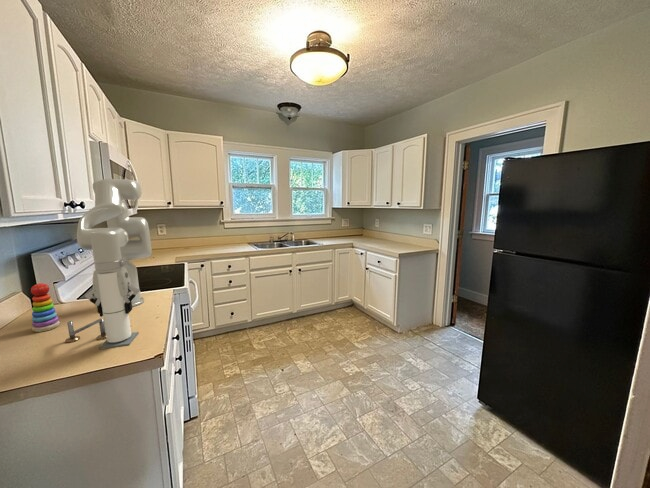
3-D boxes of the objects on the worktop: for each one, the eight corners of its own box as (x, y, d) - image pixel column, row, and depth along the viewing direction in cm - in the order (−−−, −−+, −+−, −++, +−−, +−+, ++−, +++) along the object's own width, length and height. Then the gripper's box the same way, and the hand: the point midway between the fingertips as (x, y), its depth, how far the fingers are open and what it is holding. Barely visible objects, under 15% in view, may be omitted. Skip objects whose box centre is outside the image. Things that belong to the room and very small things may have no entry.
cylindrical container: (128, 330, 104) (119, 267, 99) (133, 336, 99) (124, 270, 95) (104, 337, 98) (94, 271, 94) (109, 344, 94) (98, 275, 90)
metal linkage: (69, 338, 101) (66, 318, 100) (113, 332, 105) (110, 314, 104) (44, 358, 88) (39, 336, 87) (95, 351, 92) (92, 330, 91)
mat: (111, 336, 102) (110, 335, 102) (138, 333, 104) (138, 331, 104) (99, 349, 93) (98, 347, 93) (129, 345, 96) (129, 343, 96)
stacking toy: (26, 334, 105) (17, 287, 101) (41, 325, 112) (33, 281, 109) (51, 331, 107) (43, 285, 103) (65, 322, 114) (57, 279, 111)
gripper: (141, 261, 100) (147, 306, 103) (84, 265, 95) (92, 312, 98) (133, 266, 93) (140, 314, 96) (72, 270, 88) (80, 321, 91)
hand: (116, 313), depth 97 cm, fingers closed on cylindrical container, 7 cm apart
